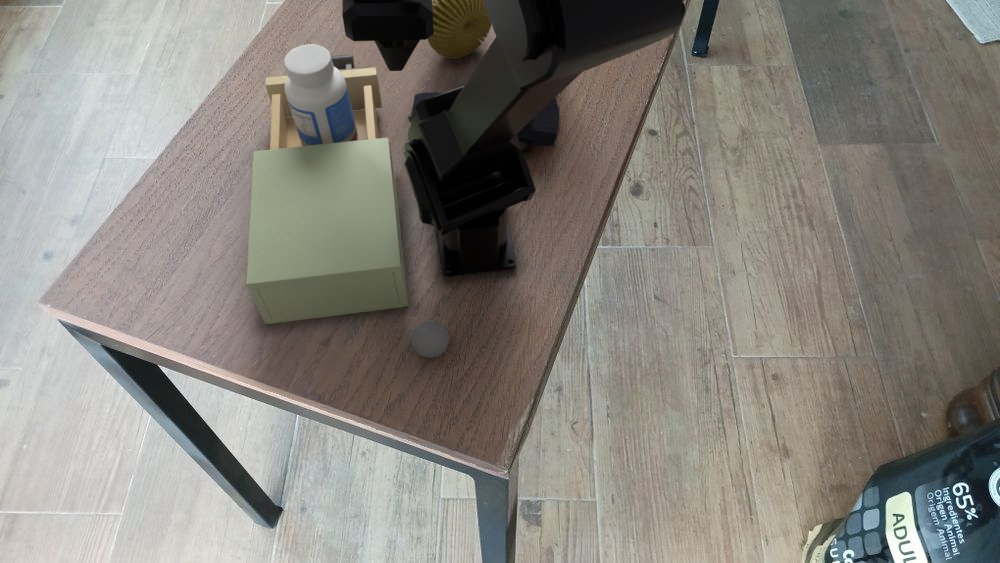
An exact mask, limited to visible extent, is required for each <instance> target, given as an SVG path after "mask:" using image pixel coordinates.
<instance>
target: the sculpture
mask: <svg viewBox="0 0 1000 563" xmlns="http://www.w3.org/2000/svg"><path fill="white" fill-rule="evenodd" d="M484 5H485V2H484V0H432V6H433V30H434V34H433V35H432V36H430V37H429V38H428V39H427V42H428V45H429V46H431V48H432V49H433V51H435V52H436V53H437V54H438V55H440V56H442V57H443V58H449V59H459V58H463V57H465V56H468V55H470V54H472V53H473V52H475V51H476V50H477V49H478V48H479V47H480V46H481V45H482V42H485V39H486V38H487V37H488V34H489V32H490V30H491V27H492V23H491V20H490V18H489V15H488V13H487V11H486V8H485V6H484Z"/></svg>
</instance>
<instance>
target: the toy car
mask: <svg viewBox="0 0 1000 563" xmlns="http://www.w3.org/2000/svg"><path fill="white" fill-rule="evenodd" d="M465 84H466V82H464V83H463V84H461V85H458V86H456V87H454V89H456V88H459V87H461V86H464V85H465ZM441 93H444V91H427V92H419V93H415V95H414V97H413V103H412V108H411V115H410V116H412V115H413V114H414V108H415V106H416V105H417V104H418V103H419V102H420V101H421V100H424V99H427V98H430V97H433V96H435V95H438V94H441ZM560 123H561V113H560V108H559V104H558V101H557V96H556V97H555V98H554V99H553V100H552V101H551V102H550V103H549V104H548V105H547V106H546V107H545V108H544V109H543V110H542V111H540V112H539V113H538V114H537V115H536V116H535V117H534V118H533V119H532V120H531V121H530V122H529V123H528V124H527V125H526V126H525V127H523V128H522V129H521V130H520V131H519V132H518V133H517V136H518V139H519V142H520V144H521V148H522V151H523V153H524V154H526V153H528V152H530V150H531V149H532V147H535V148H536V147H537V148H538V147H551V148H554V147H555V145H556V142H557V140H558V136H559V130H560V125H561V124H560Z"/></svg>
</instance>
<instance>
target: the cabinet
mask: <svg viewBox="0 0 1000 563" xmlns="http://www.w3.org/2000/svg"><path fill="white" fill-rule="evenodd" d="M394 168H395V167H394V162H393V156H392V150H391V144H390V138H389V137H379V138H378V139H368V140H358V141H349V142H339V143H329V144H319V145H310V146H300V147H290V148H281V149H271V150H270V149H262V150H253V151H252V165H251V186H250V202H249V203H250V205H249V220H248V221H249V224H248V242H247V243H248V244H247V258H246V259H247V262H246V281H245V285H246V287H247V289H248V291H249V294H250V296H251V297H252V299H253V301H254V304H255V305H256V307H257V309H258V312H259V313H260V315H261V317H262V319H263V322H264V323H265V325H271V324H272V325H273V324H278V323H287V322H294V321H302V320H311V319H320V318H328V317H334V316H343V315H351V314H358V313H367V312H375V311H383V310H391V309H399V308H408V307H409V301H408V291H407V281H406V271H405V270H406V269H405V261H404V260H405V259H404V251H403V250H404V249H403V243H402V242H403V240H402V231H401V220H400V211H399V201H398V192H397V181H396V175H395V169H394Z"/></svg>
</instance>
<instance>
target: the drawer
mask: <svg viewBox="0 0 1000 563" xmlns="http://www.w3.org/2000/svg"><path fill="white" fill-rule="evenodd" d="M331 59H332V62H333V66H334V67H336V68H337V69H338V70H339V71H340V72H341V73H342V74H343V76H344V78H345V82H346V85H347V89H348V94H349V98H350V102H351V107H352V111H353V115H354V119H355V124H356V129H357V135H358V137H357V141H358V140H368V139H378V138H380V136H379V128H378V127H379V126H378V115H377V109H378V108H379V109H381V108H383V103H382V96H381V89H380V84H379V83H380V82H379V76H378V72H377V67H376V66H373V67H365V68H356V67H355V60H354V54H352V53H350V54H340V55H331ZM287 77H288V76H287V75H280V76H267V77H265V88H266V92H267V94H268V97H269V100H270V103H271V108H270V109H271V110H270V111H271V112H270V113H271V114H270V139H269V140H270V141H269V143H270V144H269V150H271V149H281V148H290V147H300V146H302V143H301V140H300V137H299V134H298V131H297V128H296V125H295V122H294V119H293V116H292V113H291V110H290V107H289V103H288V100H287V97H286V94H285V82H286V79H287Z"/></svg>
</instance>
